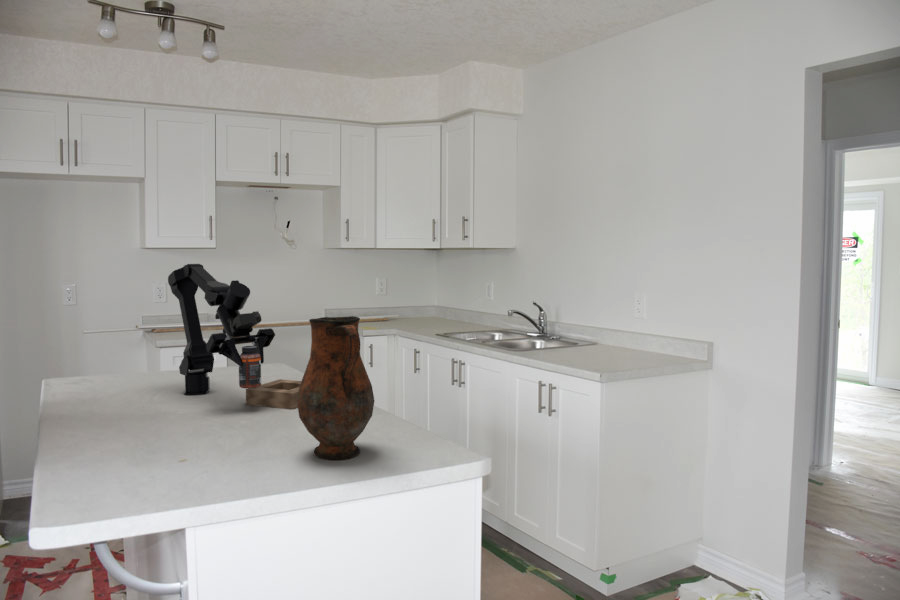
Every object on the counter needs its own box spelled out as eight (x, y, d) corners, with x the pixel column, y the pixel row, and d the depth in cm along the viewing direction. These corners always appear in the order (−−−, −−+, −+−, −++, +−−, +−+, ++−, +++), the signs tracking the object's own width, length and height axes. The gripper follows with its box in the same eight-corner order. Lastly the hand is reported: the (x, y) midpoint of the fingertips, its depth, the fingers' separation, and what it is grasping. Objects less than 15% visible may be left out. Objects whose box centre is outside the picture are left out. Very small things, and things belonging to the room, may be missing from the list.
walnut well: (246, 404, 195) (245, 389, 194) (279, 393, 210) (279, 379, 209) (292, 409, 189) (292, 393, 189) (323, 397, 204) (323, 382, 203)
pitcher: (358, 438, 159) (356, 312, 157) (394, 463, 141) (393, 320, 139) (288, 448, 152) (285, 315, 149) (317, 475, 133) (314, 324, 131)
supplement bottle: (265, 385, 189) (265, 345, 188) (252, 389, 183) (251, 348, 182) (248, 384, 191) (248, 344, 190) (234, 388, 186) (233, 347, 185)
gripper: (209, 304, 181) (230, 349, 175) (271, 300, 195) (292, 342, 188) (197, 330, 188) (216, 375, 181) (257, 325, 201) (278, 366, 194)
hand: (252, 364), depth 186 cm, fingers closed on supplement bottle, 6 cm apart
